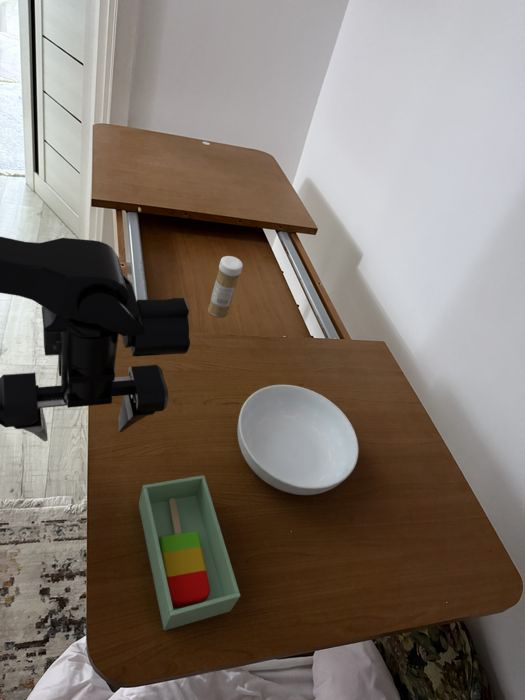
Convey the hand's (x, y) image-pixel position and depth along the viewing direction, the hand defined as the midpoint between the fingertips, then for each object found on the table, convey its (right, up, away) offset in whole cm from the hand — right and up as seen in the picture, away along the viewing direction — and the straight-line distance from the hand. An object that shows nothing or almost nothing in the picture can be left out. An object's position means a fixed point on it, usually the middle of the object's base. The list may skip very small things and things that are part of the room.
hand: (83, 433), depth 66 cm
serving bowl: (+28, -7, +22) cm, 36 cm away
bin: (+12, -18, +5) cm, 22 cm away
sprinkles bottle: (+14, +19, +44) cm, 50 cm away
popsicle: (+12, -17, +5) cm, 21 cm away
